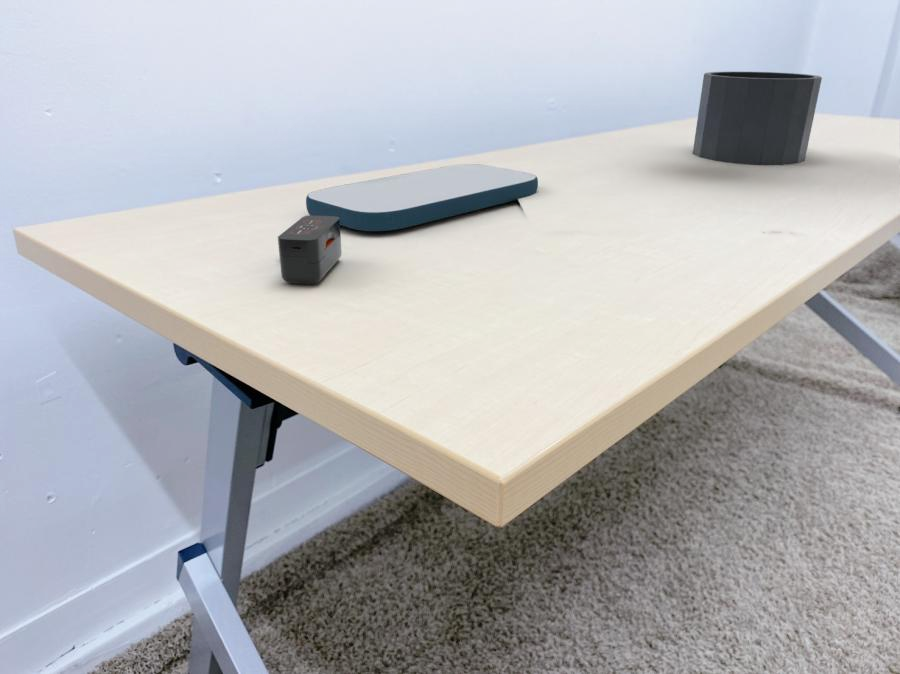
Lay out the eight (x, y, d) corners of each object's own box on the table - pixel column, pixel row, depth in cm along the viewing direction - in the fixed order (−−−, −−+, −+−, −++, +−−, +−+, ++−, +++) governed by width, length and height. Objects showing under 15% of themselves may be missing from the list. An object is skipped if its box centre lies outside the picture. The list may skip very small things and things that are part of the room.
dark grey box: (346, 255, 54) (344, 213, 53) (319, 287, 48) (315, 240, 46) (287, 253, 55) (284, 211, 53) (252, 284, 48) (247, 237, 47)
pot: (773, 151, 100) (788, 71, 95) (823, 169, 87) (843, 79, 83) (678, 151, 99) (689, 71, 95) (714, 169, 87) (729, 78, 82)
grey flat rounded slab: (373, 241, 58) (372, 217, 57) (293, 215, 65) (291, 194, 64) (550, 196, 73) (551, 176, 72) (468, 179, 80) (468, 161, 80)
